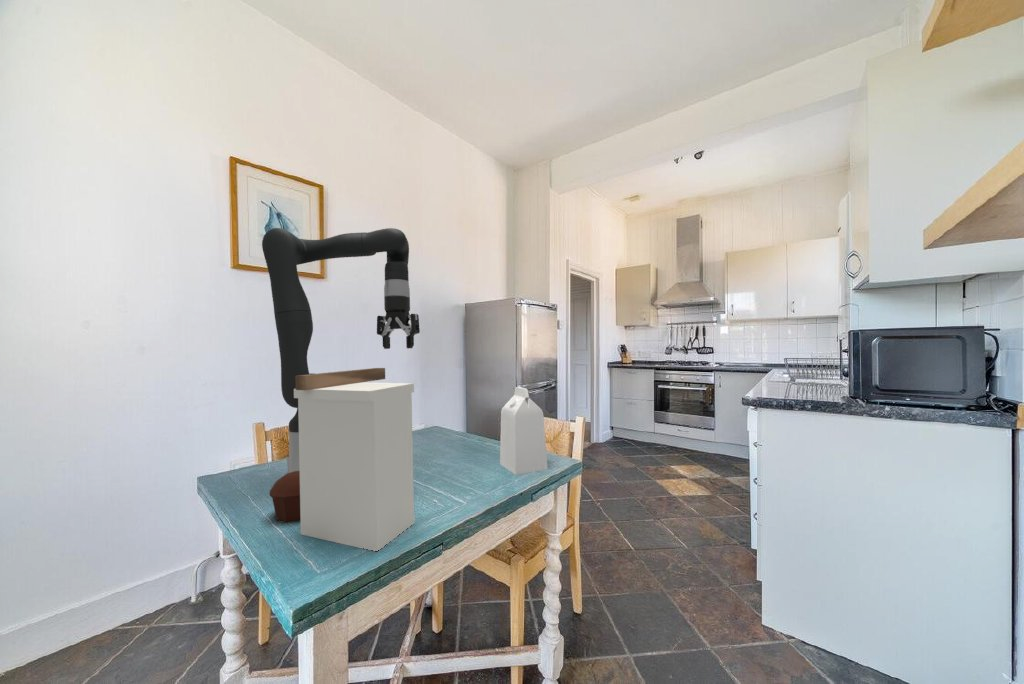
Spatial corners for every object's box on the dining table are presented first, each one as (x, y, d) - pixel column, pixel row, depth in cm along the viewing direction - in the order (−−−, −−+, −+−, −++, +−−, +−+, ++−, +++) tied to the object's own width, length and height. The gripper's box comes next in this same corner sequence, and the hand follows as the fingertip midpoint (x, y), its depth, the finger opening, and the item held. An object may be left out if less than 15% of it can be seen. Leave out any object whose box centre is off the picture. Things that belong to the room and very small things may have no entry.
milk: (547, 468, 117) (545, 388, 117) (515, 475, 112) (513, 391, 112) (529, 458, 128) (527, 385, 128) (499, 464, 123) (498, 387, 123)
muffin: (261, 517, 88) (260, 475, 88) (308, 500, 97) (307, 462, 97) (284, 529, 81) (283, 485, 81) (332, 510, 90) (331, 470, 91)
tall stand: (296, 536, 78) (293, 388, 78) (347, 508, 91) (344, 382, 91) (373, 554, 71) (370, 391, 71) (417, 521, 84) (413, 383, 84)
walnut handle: (295, 389, 76) (295, 375, 76) (376, 378, 98) (376, 367, 98) (306, 390, 75) (305, 375, 75) (385, 379, 97) (385, 367, 97)
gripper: (370, 296, 110) (371, 349, 110) (408, 292, 105) (409, 348, 105) (386, 298, 117) (387, 348, 117) (423, 295, 112) (424, 348, 112)
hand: (398, 348), depth 111 cm, fingers open, 8 cm apart
